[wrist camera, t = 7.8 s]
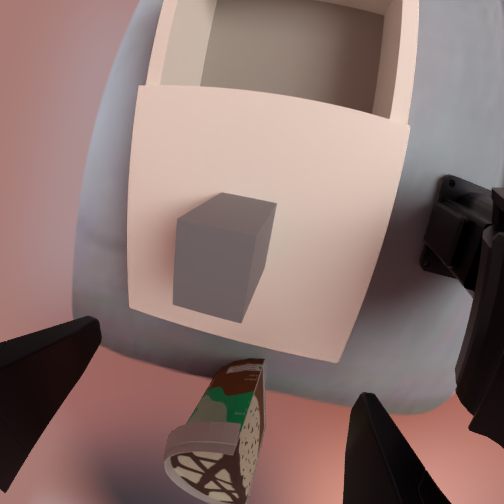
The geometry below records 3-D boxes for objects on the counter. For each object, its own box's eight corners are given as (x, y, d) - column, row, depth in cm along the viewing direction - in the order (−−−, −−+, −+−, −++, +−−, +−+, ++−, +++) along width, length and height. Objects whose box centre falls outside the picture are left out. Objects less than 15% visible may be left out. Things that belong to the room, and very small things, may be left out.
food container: (190, 336, 24) (134, 425, 15) (264, 344, 23) (232, 450, 14) (209, 424, 29) (177, 499, 19) (266, 433, 27) (245, 514, 18)
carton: (395, 13, 13) (418, -25, 7) (368, 186, 17) (389, 205, 12) (212, -11, 14) (178, -49, 9) (182, 150, 19) (136, 156, 14)
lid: (407, 126, 11) (457, 121, 6) (337, 357, 15) (337, 430, 11) (144, 86, 12) (73, 74, 8) (133, 303, 17) (84, 352, 12)
